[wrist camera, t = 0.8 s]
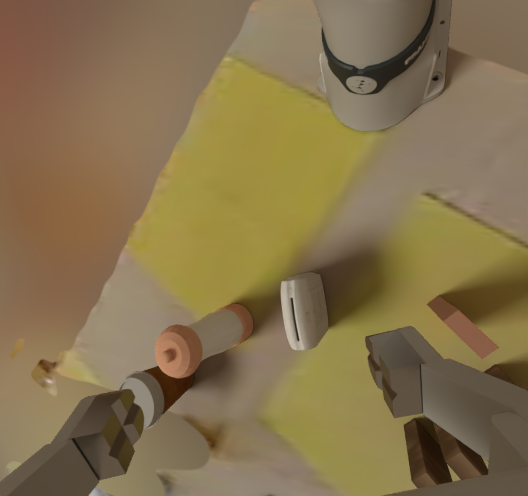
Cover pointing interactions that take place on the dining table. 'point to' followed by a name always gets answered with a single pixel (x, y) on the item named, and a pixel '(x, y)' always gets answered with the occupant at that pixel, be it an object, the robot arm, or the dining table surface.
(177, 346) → the pepper shaker
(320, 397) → the dining table surface
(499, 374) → the walnut domino
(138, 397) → the disposable coffee cup
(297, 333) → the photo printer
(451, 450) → the walnut domino
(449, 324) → the terracotta domino
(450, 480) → the walnut domino
